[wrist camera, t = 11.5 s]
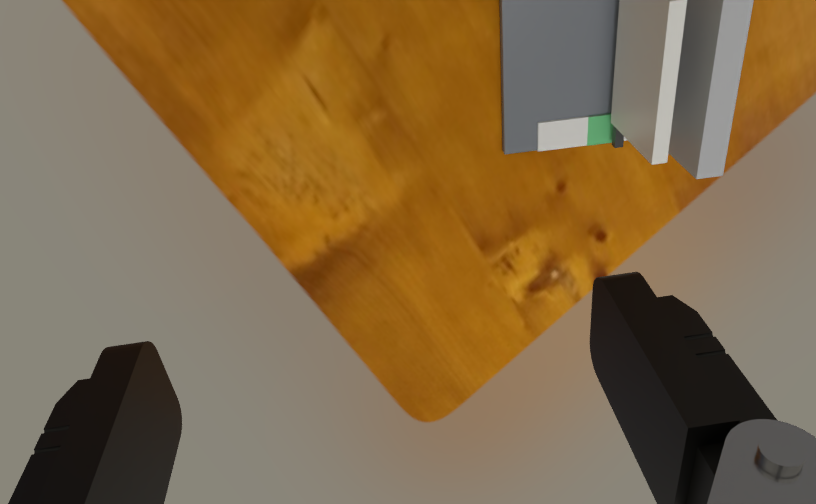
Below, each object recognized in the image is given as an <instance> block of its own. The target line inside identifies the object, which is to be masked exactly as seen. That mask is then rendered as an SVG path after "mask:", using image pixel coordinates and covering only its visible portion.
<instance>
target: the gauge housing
mask: <svg viewBox="0 0 816 504" xmlns="http://www.w3.org/2000/svg"><path fill="white" fill-rule="evenodd" d="M753 1H754V0H687V6H686V14H685V22H684V30H683V38H682V46H681V54H680V62H679V70H678V78H677V86H676V94H675V102H674V110H673V119H672V127H671V135H670V143H669V151H668V153H669V154H670V155H671V156H672V157H673V158H674V159H675V160H676V161H678V162H679V163H680V164H681V165H682V166H683V167H684V168H685V169H686V170H687V171H688V172H689V173H690V174H691V175H692V176H694V177H695V178H696V179H701V178H709V177H717V176H723V172H724V166H725V161H726V155H727V149H728V143H729V138H730V132H731V126H732V121H733V115H734V109H735V104H736V98H737V92H738V86H739V81H740V75H741V69H742V64H743V58H744V52H745V47H746V41H747V35H748V29H749V24H750V18H751V12H752V7H753ZM618 13H619V0H500V42H501V93H502V144H503V152H504V154H511V153H519V152H527V151H535V150H537V151H546V150H554V149H562V148H570V147H578V146H586V145H587V146H588V145H596V144H604V143H612V135H613V124H612V123H611V110H612V96H613V82H614V69H615V55H616V41H617V27H618ZM626 140H627V139H626V138H625V137H624V141H626Z"/></svg>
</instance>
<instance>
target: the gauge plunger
mask: <svg viewBox="0 0 816 504" xmlns="http://www.w3.org/2000/svg"><path fill="white" fill-rule="evenodd" d="M686 6H687V0H619V13H618V27H617V41H616V55H615V69H614V82H613V96H612V110H611V123H612V124H613V135H612V145H613V147H614V148H618V147H623V141H624V137H625V138H626V139H627V140H628V141H629V142H630V143H631V144H632V145H633V146H634V147H635V148H636V149H637V150H638V151H639V152H640V153H641V154H642V155H643V156H644V157H645V158H646V159H647V160H648V161H649V162H650V163H651V164H652V165H653V164H661V163H667V159H668V151H669V143H670V135H671V127H672V119H673V110H674V102H675V94H676V86H677V78H678V70H679V62H680V54H681V46H682V38H683V30H684V22H685V14H686Z"/></svg>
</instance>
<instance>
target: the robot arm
mask: <svg viewBox="0 0 816 504" xmlns="http://www.w3.org/2000/svg"><path fill="white" fill-rule="evenodd" d="M590 352H591V358H592V362H593V366H594V370H595V373H596V375H597V377H598V379H599V382H600V384H601V386H602V388H603V390H604V392H605V394H606V396H607V399H608V401H609V403H610V405H611V407H612V409H613V411H614V413H615V415H616V418H617V420H618V422H619V424H620V426H621V428H622V430H623V432H624V434H625V437H626V439H627V441H628V443H629V445H630V447H631V449H632V452H633V453H634V456H635V458H636V460H637V462H638V464H639V466H640V468H641V471H642V472H643V475H644V477H645V479H646V481H647V483H648V485H649V487H650V490H651V492H652V494H653V496H654V498H655V500H656V502H657V504H816V438H815V437H814V436H813V435H811V434H810V433H808V432H806V431H805V430H803V429H801V428H799V427H797V426H794V425H791V424H788V423H785V422H781V421H778V420H777V419H776V418H775V417H774V415H773V414H772V413H771V411H770V410H769V409H768V408H767V406H766V405H765V403H764V402H763V400H762V399H761V398H760V397H759V395H758V394H757V392H756V391H755V390H754V388H753V387H752V385H751V384H750V383H749V381H748V380H747V379H746V377H745V376H744V375H743V373H742V372H741V371H740V369H739V368H738V367H737V365H736V364H735V362H734V361H733V360H732V358H731V357H730V356H729V355H728V354H726V353H725V349H724V348H723V346H722V345H721V344H720V342H719V341H718V339H717V338H716V337H713V335H712V331H711V330H710V329H709V327H708V326H707V324H706V323H705V322H704V321H703V319H702V318H701V317H700V315H699V314H698V312H697V311H695V310H694V309H692V308H691V307H689V306H687V305H686V304H685V303H683V302H682V301H680V300H679V299H677V298H676V297H674V296H673V295H670V296H664V297H656V295H655V294H654V292H653V291H652V289H651V288H650V286H649V285H648V284H647V282H646V280H645V279H644V277H643V276H642V275H641V274H640V273H638V272H632V273H625V274H619V275H611V276H605V277H598V278H596V279H595V280H594V284H593V294H592V312H591V329H590ZM181 430H182V415H181V408H180V404H179V401H178V398H177V396H176V394H175V391H174V389H173V387H172V384H171V382H170V380H169V377H168V375H167V373H166V370H165V368H164V365H163V363H162V361H161V358H160V356H159V354H158V352H157V349H156V347H155V346H154V345H153V343H151V342H149V341H147V342H139V343H133V344H126V345H119V346H112V347H107V348H105V349H104V350H103V351H102V353H101V355H100V357H99V359H98V362H97V364H96V366H95V369H94V371H93V373H92V376H91V378H90V379H83V380H78V381H77V382H76V383H75V384H74V385H73V386H72V387H71V388H70V389H69V390H68V391H67V392H66V394H65V395H64V396H63V397H62V398H61V399H60V400H59V401H58V402H57V403H56V404H55V407H54V409H53V411H52V413H51V415H50V417H49V419H48V421H47V423H46V425H45V428H44V434H41V436H40V438H39V440H38V442H37V444H36V446H35V449H34V451H35V453H34V455H31V457H30V459H29V461H28V463H27V465H26V467H25V470H24V472H23V474H22V476H21V478H20V480H19V482H18V484H17V486H16V488H15V491H14V493H13V495H12V497H11V499H10V501H9V503H8V504H164V501H165V497H166V493H167V489H168V485H169V481H170V477H171V473H172V469H173V465H174V461H175V457H176V453H177V449H178V444H179V440H180V437H181Z"/></svg>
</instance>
